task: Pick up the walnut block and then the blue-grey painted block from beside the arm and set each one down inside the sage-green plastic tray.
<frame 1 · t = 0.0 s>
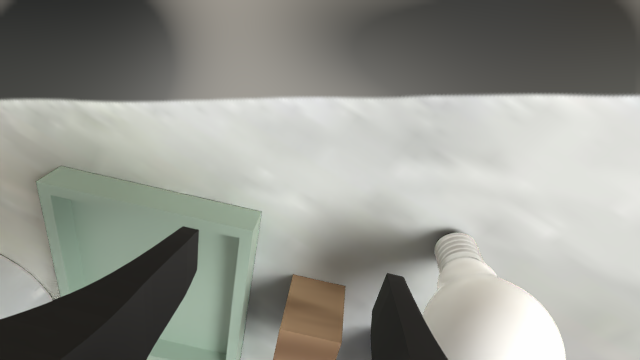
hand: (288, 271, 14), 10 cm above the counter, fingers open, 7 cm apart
lightbulb: (452, 241, 25), on the counter
walnut block: (314, 298, 29), on the counter
tray: (163, 274, 29), on the counter
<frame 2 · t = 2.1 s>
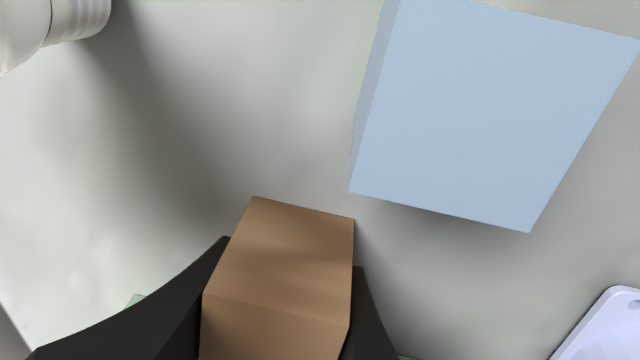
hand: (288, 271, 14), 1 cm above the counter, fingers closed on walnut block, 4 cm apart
walnut block: (295, 247, 15), on the counter, touching gripper
bluegrey block: (433, 69, 11), on the counter
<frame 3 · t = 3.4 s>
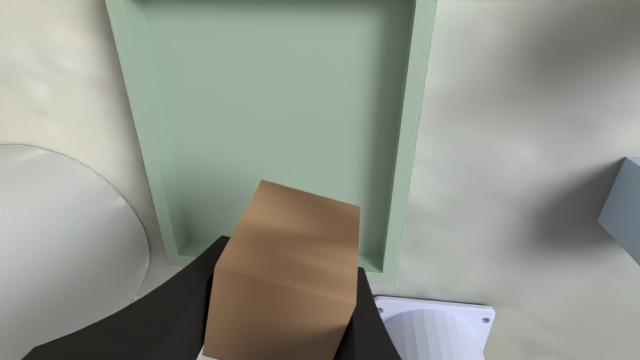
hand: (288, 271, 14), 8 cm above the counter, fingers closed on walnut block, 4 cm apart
utensil holder: (62, 230, 26), on the counter
walnut block: (300, 232, 15), point 6 cm above the counter, touching gripper
tray: (280, 138, 21), on the counter
when the fingers open (3 cm above the counter, at t = 4.9 s): walnut block stays where it is, resting on tray.
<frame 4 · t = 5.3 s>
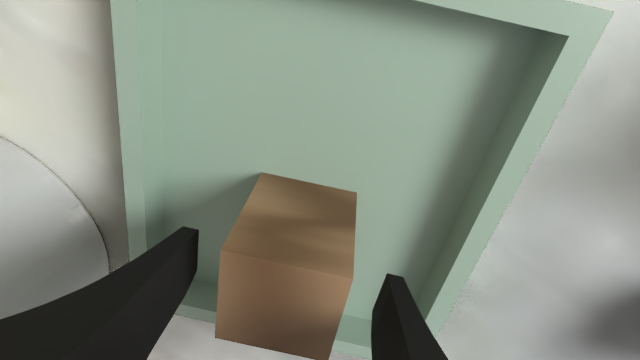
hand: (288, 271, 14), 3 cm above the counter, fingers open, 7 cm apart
walnut block: (301, 221, 16), point 1 cm above the counter, touching tray
tray: (312, 172, 16), on the counter
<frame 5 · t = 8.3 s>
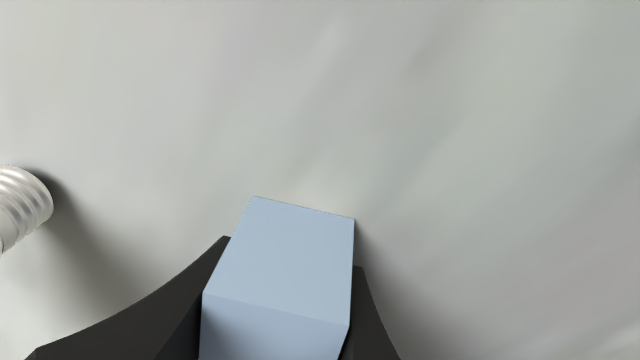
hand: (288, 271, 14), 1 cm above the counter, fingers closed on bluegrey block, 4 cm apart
lightbulb: (37, 184, 15), on the counter
bluegrey block: (295, 247, 15), on the counter, touching gripper
when the fingers open (3 cm above the counter, at t = 11.7 s): bluegrey block stays where it is, point 1 cm above the counter.
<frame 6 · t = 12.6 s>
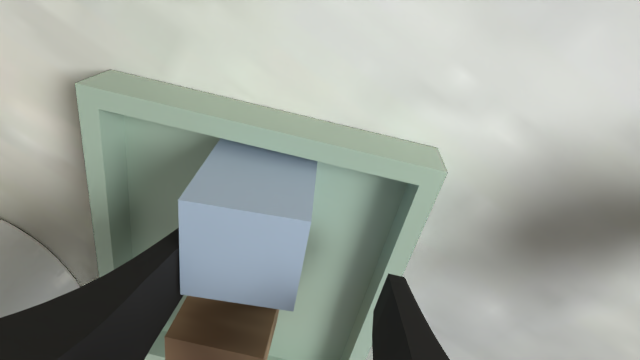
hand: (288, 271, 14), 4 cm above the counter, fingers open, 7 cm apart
walnut block: (245, 289, 20), point 1 cm above the counter, touching tray
tray: (252, 252, 19), on the counter
bluegrey block: (266, 183, 16), point 1 cm above the counter, touching gripper
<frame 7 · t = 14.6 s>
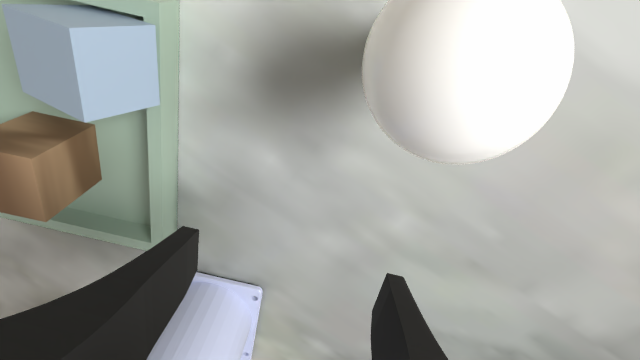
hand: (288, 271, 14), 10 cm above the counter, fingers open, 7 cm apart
lightbulb: (424, 35, 19), on the counter
walnut block: (68, 146, 24), point 1 cm above the counter, touching tray
tray: (70, 112, 23), on the counter
bluegrey block: (57, 46, 19), point 2 cm above the counter, tilted 66°, touching tray
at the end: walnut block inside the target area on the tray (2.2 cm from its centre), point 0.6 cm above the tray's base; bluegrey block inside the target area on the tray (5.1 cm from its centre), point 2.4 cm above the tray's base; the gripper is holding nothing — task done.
